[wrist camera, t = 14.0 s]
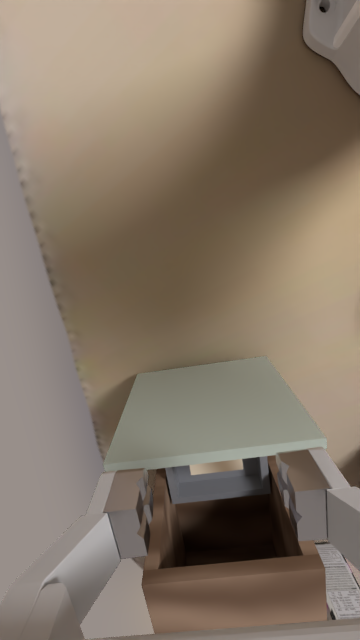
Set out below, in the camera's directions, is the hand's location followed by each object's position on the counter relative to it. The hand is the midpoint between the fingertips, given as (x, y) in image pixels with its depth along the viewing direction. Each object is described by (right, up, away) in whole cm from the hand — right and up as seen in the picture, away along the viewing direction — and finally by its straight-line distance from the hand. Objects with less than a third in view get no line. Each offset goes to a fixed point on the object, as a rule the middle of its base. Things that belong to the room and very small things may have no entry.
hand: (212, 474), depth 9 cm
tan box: (+4, -18, +27) cm, 33 cm away
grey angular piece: (+2, -7, +22) cm, 23 cm away
